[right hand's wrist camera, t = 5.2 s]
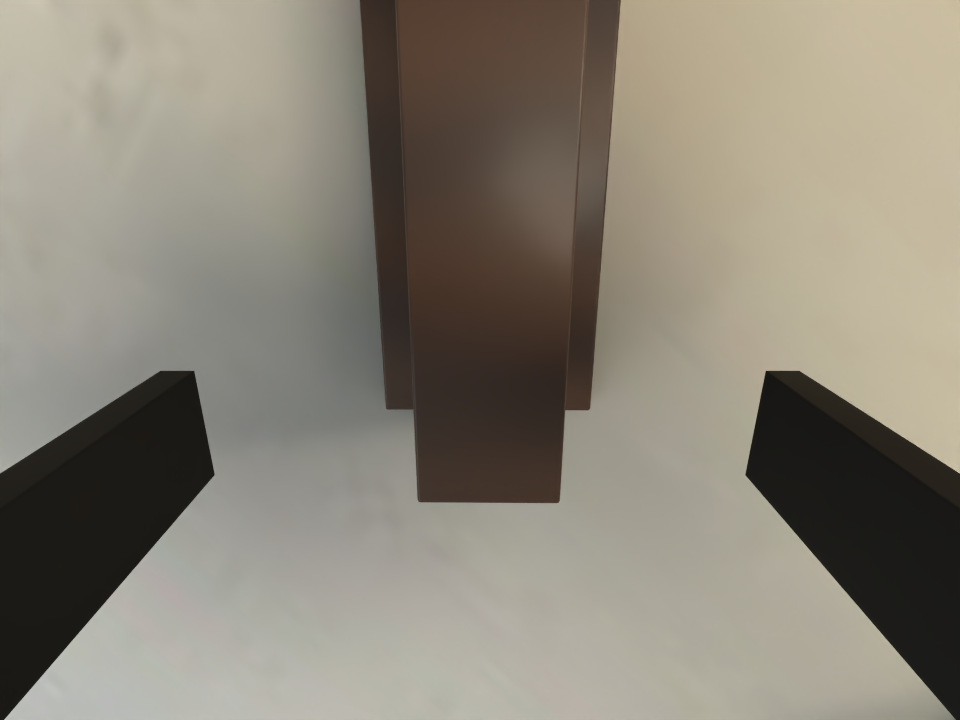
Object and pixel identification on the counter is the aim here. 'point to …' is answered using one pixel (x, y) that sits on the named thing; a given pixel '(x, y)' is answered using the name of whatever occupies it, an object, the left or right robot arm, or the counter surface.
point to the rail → (489, 228)
